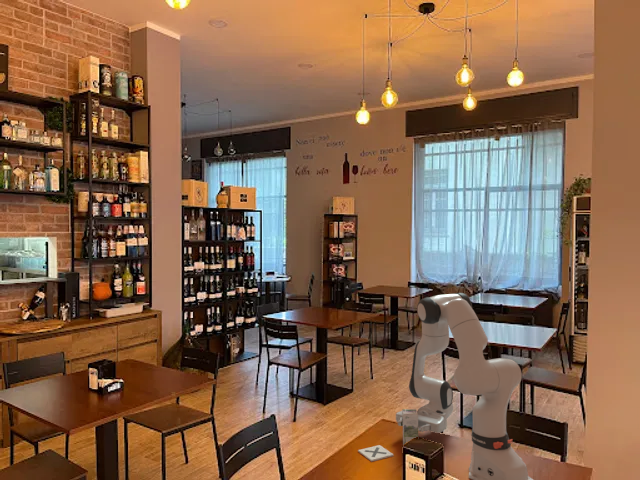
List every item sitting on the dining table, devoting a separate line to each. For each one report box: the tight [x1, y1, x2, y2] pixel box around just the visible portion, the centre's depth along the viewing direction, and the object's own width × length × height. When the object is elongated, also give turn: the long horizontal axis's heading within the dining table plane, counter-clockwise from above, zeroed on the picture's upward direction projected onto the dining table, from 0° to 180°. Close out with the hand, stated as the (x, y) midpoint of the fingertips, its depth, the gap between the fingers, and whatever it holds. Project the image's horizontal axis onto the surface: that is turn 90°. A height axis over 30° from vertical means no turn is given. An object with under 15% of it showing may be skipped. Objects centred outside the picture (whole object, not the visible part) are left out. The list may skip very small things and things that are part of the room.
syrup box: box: [401, 408, 419, 445], centre depth 193 cm, size 6×6×14 cm
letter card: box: [357, 444, 395, 463], centre depth 189 cm, size 10×10×1 cm
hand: (409, 426), depth 193 cm, fingers open, 8 cm apart
